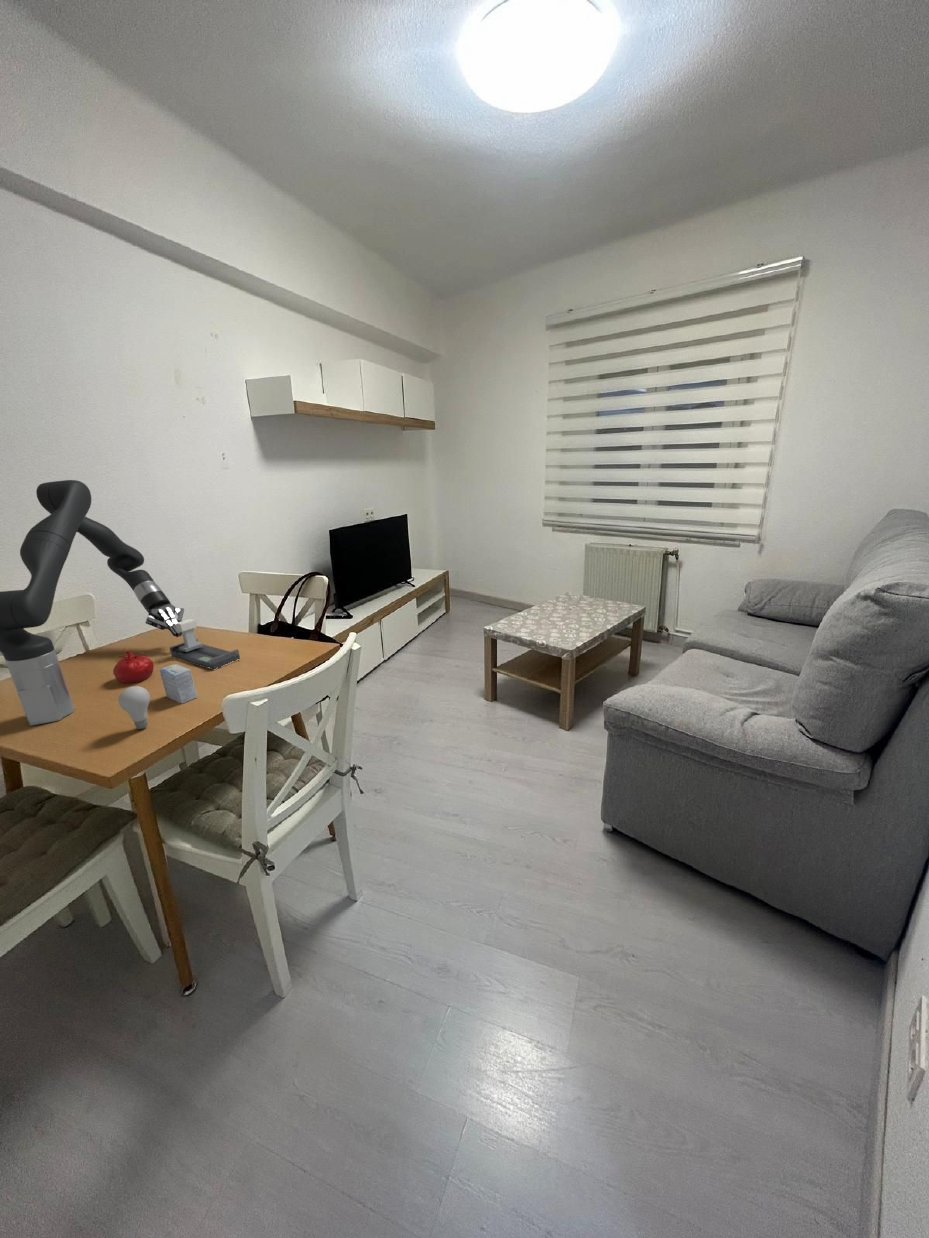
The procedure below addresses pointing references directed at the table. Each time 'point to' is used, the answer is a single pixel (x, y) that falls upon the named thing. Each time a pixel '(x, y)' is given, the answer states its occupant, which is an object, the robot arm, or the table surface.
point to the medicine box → (178, 683)
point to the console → (205, 655)
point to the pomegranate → (133, 668)
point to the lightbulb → (135, 704)
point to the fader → (188, 635)
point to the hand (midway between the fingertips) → (179, 635)
